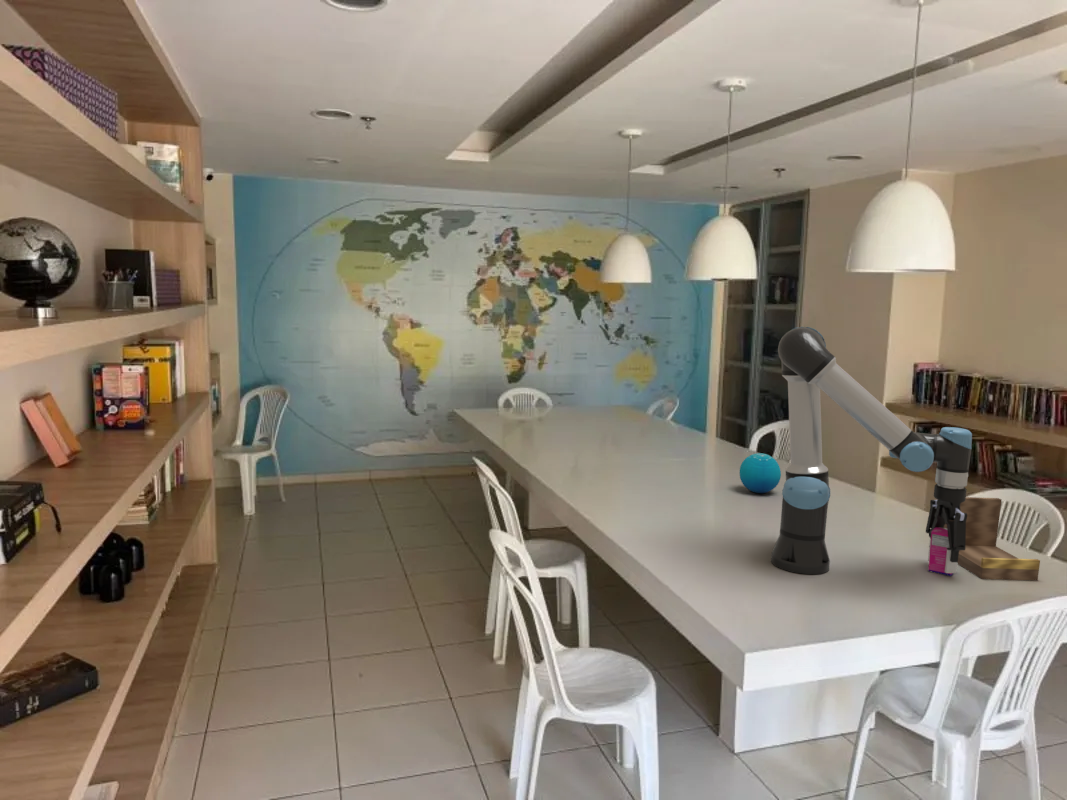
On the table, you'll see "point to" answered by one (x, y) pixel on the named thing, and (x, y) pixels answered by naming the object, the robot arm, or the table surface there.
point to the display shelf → (990, 544)
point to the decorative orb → (760, 473)
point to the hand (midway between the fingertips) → (941, 566)
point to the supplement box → (938, 550)
